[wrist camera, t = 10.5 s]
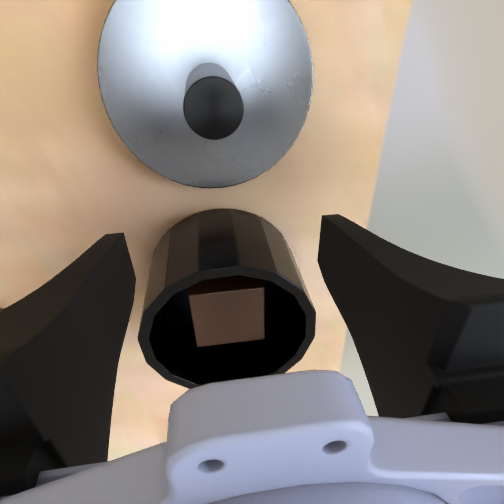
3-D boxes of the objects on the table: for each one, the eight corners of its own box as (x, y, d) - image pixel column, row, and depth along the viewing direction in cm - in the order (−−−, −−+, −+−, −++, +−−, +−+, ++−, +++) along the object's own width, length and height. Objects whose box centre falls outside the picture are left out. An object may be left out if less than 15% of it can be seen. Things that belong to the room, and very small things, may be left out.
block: (196, 301, 26) (196, 347, 22) (189, 252, 24) (187, 295, 20) (255, 295, 26) (264, 339, 23) (253, 246, 24) (264, 287, 20)
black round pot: (140, 311, 26) (127, 385, 21) (166, 192, 21) (156, 250, 16) (264, 328, 29) (279, 397, 24) (312, 227, 24) (345, 285, 19)
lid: (92, 154, 20) (61, 197, 15) (115, -92, 14) (78, -142, 10) (268, 199, 23) (287, 246, 18) (341, 9, 17) (393, 6, 13)
